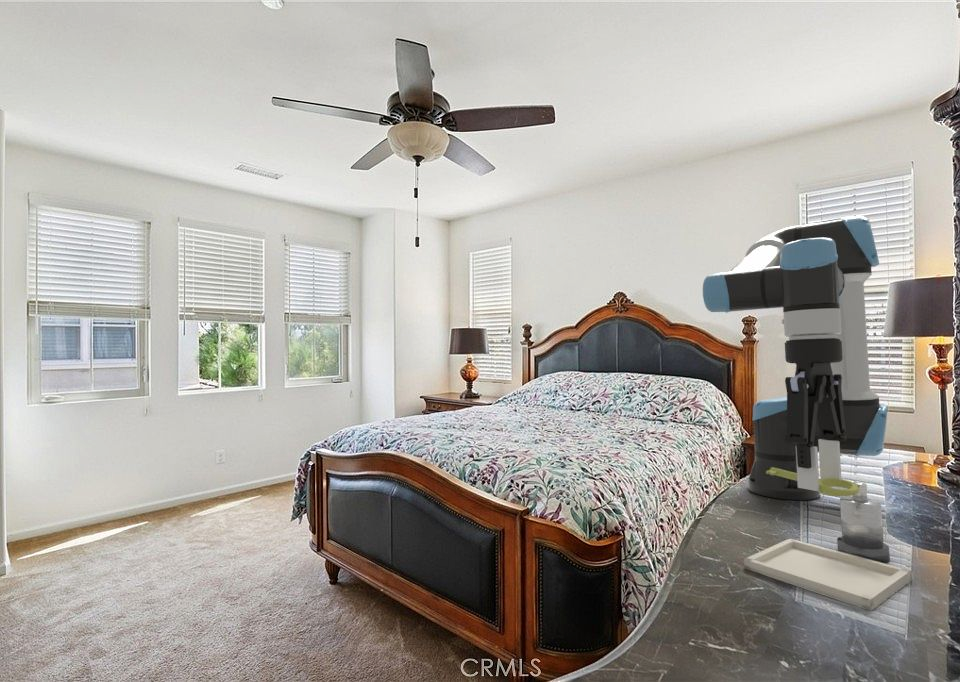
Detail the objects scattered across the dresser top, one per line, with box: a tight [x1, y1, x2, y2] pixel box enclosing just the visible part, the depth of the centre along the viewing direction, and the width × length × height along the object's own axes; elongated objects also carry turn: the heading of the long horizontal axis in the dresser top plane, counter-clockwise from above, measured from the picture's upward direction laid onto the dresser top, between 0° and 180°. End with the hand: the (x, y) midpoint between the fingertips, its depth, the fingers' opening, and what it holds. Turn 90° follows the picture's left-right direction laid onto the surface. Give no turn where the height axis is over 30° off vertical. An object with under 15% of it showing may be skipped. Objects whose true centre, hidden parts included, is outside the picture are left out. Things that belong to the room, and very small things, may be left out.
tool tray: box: [743, 538, 913, 612], centre depth 78 cm, size 15×17×2 cm
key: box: [766, 467, 859, 497], centre depth 78 cm, size 7×12×2 cm, turn 53°
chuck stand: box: [836, 481, 891, 564], centre depth 85 cm, size 7×7×12 cm
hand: (820, 484), depth 78 cm, fingers closed on key, 7 cm apart
